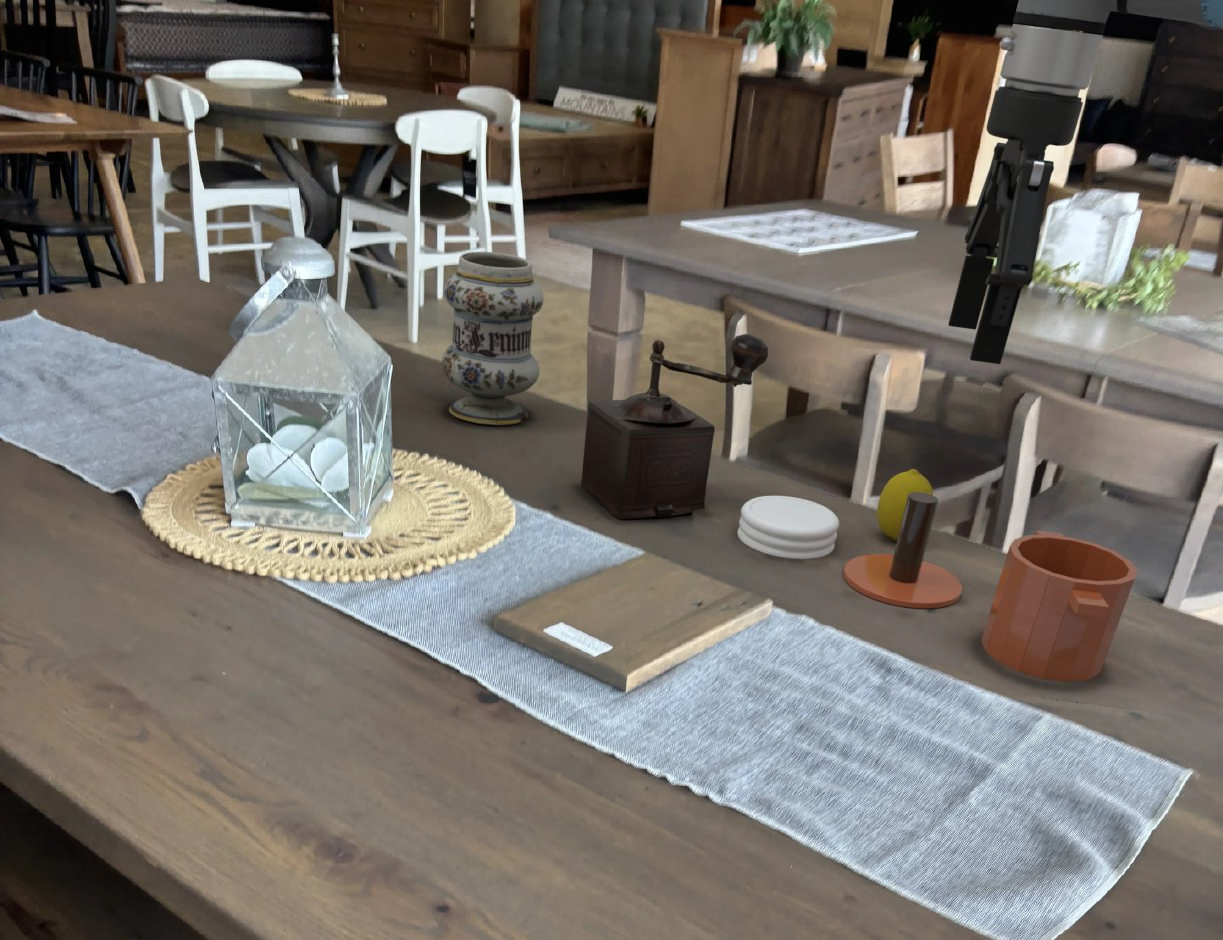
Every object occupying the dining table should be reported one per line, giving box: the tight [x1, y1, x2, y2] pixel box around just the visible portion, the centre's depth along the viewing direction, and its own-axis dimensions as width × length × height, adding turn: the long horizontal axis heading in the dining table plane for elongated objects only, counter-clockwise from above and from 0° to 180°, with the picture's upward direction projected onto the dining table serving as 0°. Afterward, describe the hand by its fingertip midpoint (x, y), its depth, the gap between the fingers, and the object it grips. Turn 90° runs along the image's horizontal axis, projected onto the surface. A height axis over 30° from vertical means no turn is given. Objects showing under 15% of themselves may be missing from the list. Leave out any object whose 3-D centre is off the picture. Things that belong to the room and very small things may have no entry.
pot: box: [980, 530, 1138, 683], centre depth 104 cm, size 10×16×10 cm, turn 175°
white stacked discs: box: [737, 495, 840, 560], centre depth 122 cm, size 10×10×4 cm
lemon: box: [876, 468, 934, 542], centre depth 124 cm, size 6×6×8 cm
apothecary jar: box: [440, 251, 545, 426], centre depth 145 cm, size 12×12×18 cm
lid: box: [843, 492, 963, 609], centre depth 114 cm, size 11×11×9 cm
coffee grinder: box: [580, 333, 769, 520], centre depth 126 cm, size 16×11×18 cm
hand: (972, 343), depth 116 cm, fingers open, 13 cm apart
